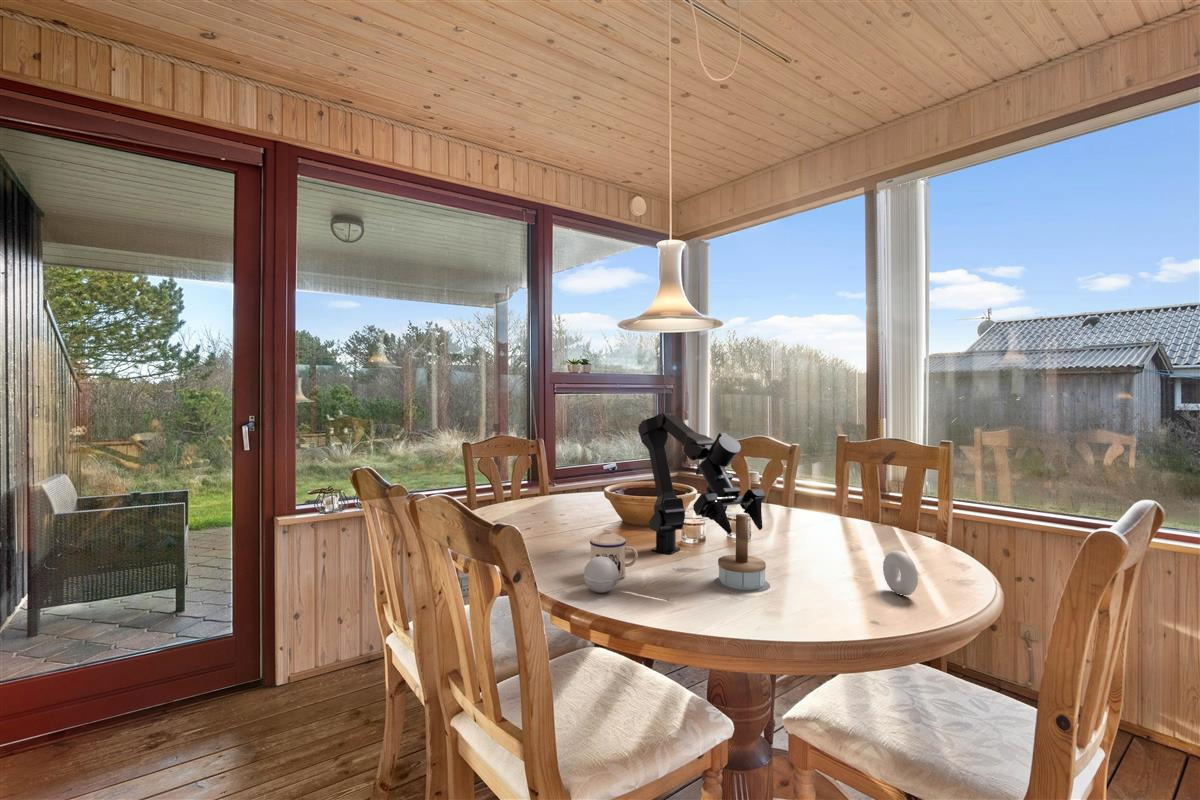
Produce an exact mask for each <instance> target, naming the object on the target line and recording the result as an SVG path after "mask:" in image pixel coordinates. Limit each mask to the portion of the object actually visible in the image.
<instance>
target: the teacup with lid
mask: <svg viewBox="0 0 1200 800" xmlns="http://www.w3.org/2000/svg"><path fill="white" fill-rule="evenodd" d="M589 543H590V560H591V559H593V558H595V557H599V556H603V557H607V558H609V559H611V560H612V561H613V562H614V563H615V564H616V566H617V568H618V574H619V575H618V580H621V579H623V578H624V577H625V575H626V568H628V567H632V566H633V565H635V564H636V562H637V561H638V556H639V555H638V551H637V549H636V548H635V547H633V546H629V545H628V546H627V545H626V544H627V541H626V538H625V537H623V536H621V535H618V534H617V533H614V532H613V530H612V528H608V527H607V528H604V529H603V532H601V533H599V534H597V535H594V536H592V537H591V538H590V540H589ZM626 551H632V552H633V553H634V558H633V560H632V561H630V562H629V563H626Z"/></svg>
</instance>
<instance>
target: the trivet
mask: <svg viewBox="0 0 1200 800" xmlns="http://www.w3.org/2000/svg"><path fill="white" fill-rule="evenodd" d="M713 582H714V585H715V586H717V587H719V589H723V590H726V591H730V592H735V593H742V594H743V593H745V594H749V593H750V594H752V593H753V594H754V593H755V594H756V593H762V592H766V591H768V590H769V589H770V588H771V584H770V583H769V582H768V581H767V580H765V582H764V586H763V587H762V588H760V589H757V590H737V589H732V588H728V587H726V586H724V585H722V584H721V582H720V579H719V576H718V577H716V578H715V579H714V581H713Z"/></svg>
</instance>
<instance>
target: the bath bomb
mask: <svg viewBox="0 0 1200 800" xmlns="http://www.w3.org/2000/svg"><path fill="white" fill-rule="evenodd" d="M618 575H619V574H618V568H617V566H616V564H615V563H614V562H613V561H612V560H611V559H609V558H607V557H603V556H599V557H595V558H593V559H591V558H590V560H589V561H588V562H587V563H586V565H585V567H584V570H583V578H584V579H583V580H584V582H585V584H586V587H588V588H589V589H590V590H591V591H593V592H595V593H598V594H599V593H600V594H604V593H607V592H609V591H611V590H612V589H614V588H615V587H616V585H617V583H618V580H619V579H618Z"/></svg>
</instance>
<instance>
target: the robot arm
mask: <svg viewBox="0 0 1200 800" xmlns="http://www.w3.org/2000/svg"><path fill="white" fill-rule="evenodd" d="M638 434H639V437H640V440H641V443H642V444H643V445H644V446H645V448H646V449H647V450H648V454H649V459H650V464H651V469H652V474H653V475H652V476H653V480H654V486H655V490H656V495H657V496H656V500H655V503H654V504H653V505H654V506H653V511H654V513H653V514H652V516H651V518H650V519H649V521H648V527H649V530H652V531H654V532H655V546H654V547H653V548H651V549H650V550H651V552H656V553H662V554H669V555H672V554H674V553H677V552H679V551H680V550H681V547H677V545H676V543H677V542H676V541H677V537H676V536H677V534H676V531H677V530H680V531H681V530H683V527H684V524H685V519H686V510H685V508H684V501H683V498H682V497H678V496H677V495H676V494H675V491H674V487H673V486H674V485H673V482H672V476H671V471H670V466H669V462H668V456H667V451H666V443H667V441H668V440H669V434H670V435H671V436H672V437H673V438H674V439H675V440H677V441H678V442H679V444H680V445H682V450H683V452H684V454H685V455H686V456H687V458H688V459H689V460H690V461H700V463H699V464H697V466H696V470H695V475H696V476H699V475H700V476H701V475H702V477H703V478H704V481H705V482H706V485H707V487H706V488H705V489H706V492H702V493H701V494H700V495H698V497H697V499H696V500H695V502H694V503H693V508H692V509H693V511H694V513H695V515H696V516H700V517H702V518H708V519H709V520H711V521H714V522H715V523H716V524H717V525H719V526H720V527H721V528H722V529H723V530H724V531H725V532H726V533H727V535H731V534H732V532H733V530H732V526H731V524H730V520H729V518H728V515H727V513H726V512H727V509H728V506H735V505H736V506H737V505H740V507H741V509H742V510H744V511H743V514H746V515H748V516H749V517H750V519H751V520H752V522H753V524H754V526H755V527H756V528H757V529H758V531H761V530H762V529H764V528H763V515H762V513H763V512H762V505H763V504H762V503H763V501H764V500H765V499H766V498H767V495H766V493H765V492H764V490H763V489H761V488H751V489H750V488H749V489H747V490H746V491H745V493H744V494H743V495H740V493H741V490H742V489H741V488H740V487H739V486H738V487H736V486H735V485H734V483H733V479H734V476H733V474H732V473H728V471H727V470H726V469H725V468H726V467H728V466H730V465H731V464H732V462H733V461H734V459H735V458H736V456H737V455H738V454H739V453H740V452H741V444H740V442H739V441H738V440H737V439H736V438H734V437H732V436H730V435H728V433H727V432H719V433H718V434H717V437H716V439H715V440H714V439H713V438H711V437H710V436H707V435H706V434H705V435H704V434H700V433H697V432H695V430H693V429H692V428H691V427H690V426H689V425H687V424H686V423H685V422H684V421H682V420H681V419H680V418H679V417H678V416H677V414H676V413H673V412H660V413H658V414H657V415H655V416H652V417H650V418H649V417H648V418H647V419H643V420H642V421H641V422H640V423H639V424H638Z"/></svg>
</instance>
